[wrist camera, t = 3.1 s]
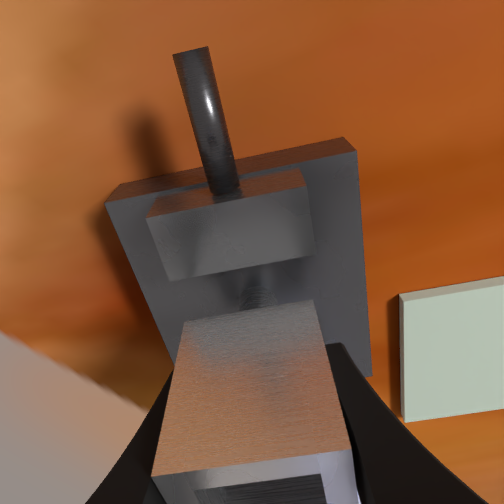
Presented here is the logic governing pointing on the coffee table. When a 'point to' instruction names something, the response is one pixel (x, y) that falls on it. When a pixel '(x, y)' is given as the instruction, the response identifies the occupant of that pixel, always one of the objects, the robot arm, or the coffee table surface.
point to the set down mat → (452, 350)
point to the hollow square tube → (254, 414)
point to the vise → (247, 228)
